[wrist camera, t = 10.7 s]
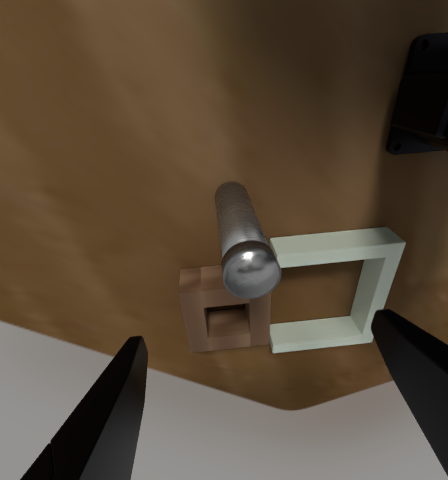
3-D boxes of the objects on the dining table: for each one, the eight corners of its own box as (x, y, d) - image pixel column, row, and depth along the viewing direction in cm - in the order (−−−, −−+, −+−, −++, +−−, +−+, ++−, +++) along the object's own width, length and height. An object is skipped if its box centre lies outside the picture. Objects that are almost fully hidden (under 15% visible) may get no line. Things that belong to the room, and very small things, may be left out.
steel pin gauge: (248, 178, 19) (282, 250, 11) (249, 211, 20) (280, 295, 13) (211, 181, 19) (220, 256, 11) (215, 215, 20) (224, 301, 13)
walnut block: (263, 260, 23) (271, 284, 20) (262, 318, 26) (269, 344, 24) (180, 269, 23) (178, 293, 20) (191, 325, 26) (190, 352, 24)
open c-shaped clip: (386, 226, 22) (406, 242, 20) (359, 322, 28) (371, 342, 26) (269, 238, 22) (277, 255, 20) (267, 332, 28) (272, 353, 26)
